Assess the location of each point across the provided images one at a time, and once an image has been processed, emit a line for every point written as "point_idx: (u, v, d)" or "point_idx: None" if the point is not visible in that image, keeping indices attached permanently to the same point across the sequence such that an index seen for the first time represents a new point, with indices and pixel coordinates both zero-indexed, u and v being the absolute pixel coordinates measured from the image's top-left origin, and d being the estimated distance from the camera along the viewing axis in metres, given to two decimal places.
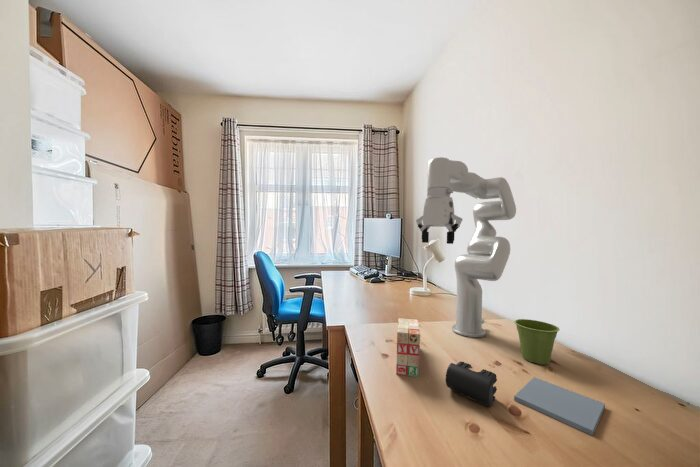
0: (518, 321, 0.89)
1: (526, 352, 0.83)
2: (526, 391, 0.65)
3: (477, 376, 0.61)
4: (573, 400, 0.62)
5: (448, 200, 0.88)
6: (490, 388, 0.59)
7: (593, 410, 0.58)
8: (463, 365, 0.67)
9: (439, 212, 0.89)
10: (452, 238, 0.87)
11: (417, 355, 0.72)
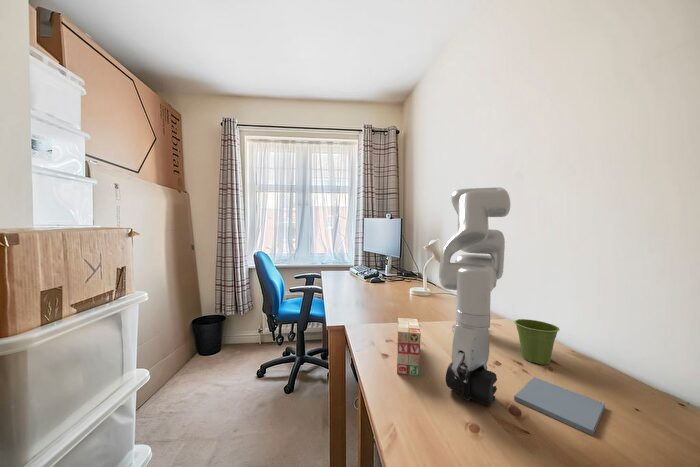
0: (518, 321, 0.89)
1: (526, 352, 0.83)
2: (526, 391, 0.65)
3: (477, 376, 0.61)
4: (573, 400, 0.62)
5: None
6: (490, 388, 0.59)
7: (593, 410, 0.58)
8: (463, 365, 0.67)
9: (485, 346, 0.64)
10: None
11: (418, 354, 0.73)
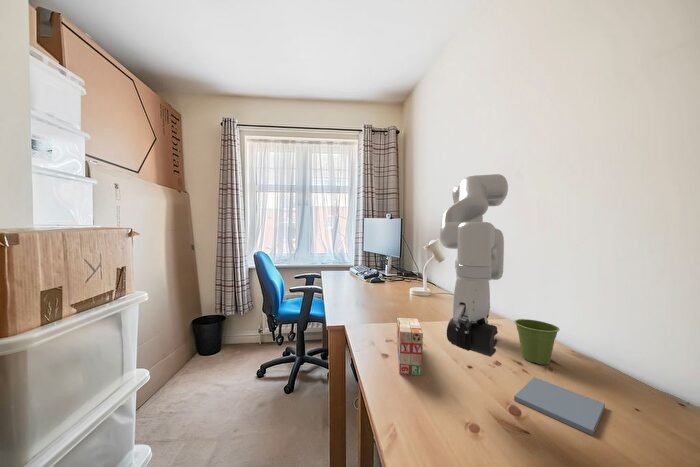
0: (518, 321, 0.89)
1: (526, 352, 0.83)
2: (526, 391, 0.65)
3: (478, 328, 0.62)
4: (573, 400, 0.62)
5: None
6: (491, 337, 0.59)
7: (593, 410, 0.58)
8: None
9: (485, 299, 0.64)
10: None
11: (420, 354, 0.73)
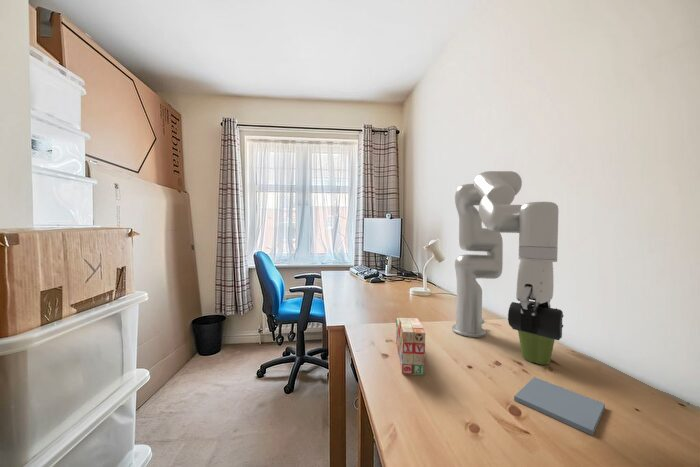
0: None
1: (526, 352, 0.83)
2: (526, 391, 0.65)
3: (544, 310, 0.60)
4: (573, 400, 0.62)
5: None
6: (560, 320, 0.58)
7: (593, 410, 0.58)
8: None
9: (550, 282, 0.62)
10: None
11: (422, 353, 0.73)
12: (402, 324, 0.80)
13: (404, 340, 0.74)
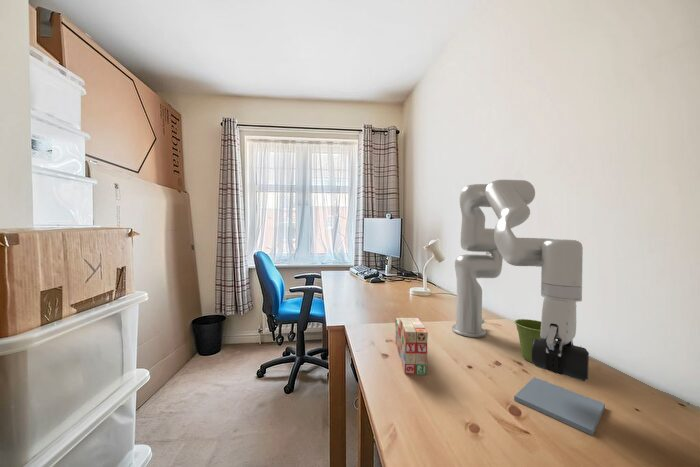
0: (518, 321, 0.89)
1: (526, 352, 0.83)
2: (526, 391, 0.65)
3: (570, 350, 0.59)
4: (573, 400, 0.62)
5: None
6: (587, 361, 0.57)
7: (593, 410, 0.58)
8: None
9: None
10: None
11: (425, 353, 0.74)
12: (404, 324, 0.80)
13: (407, 340, 0.74)
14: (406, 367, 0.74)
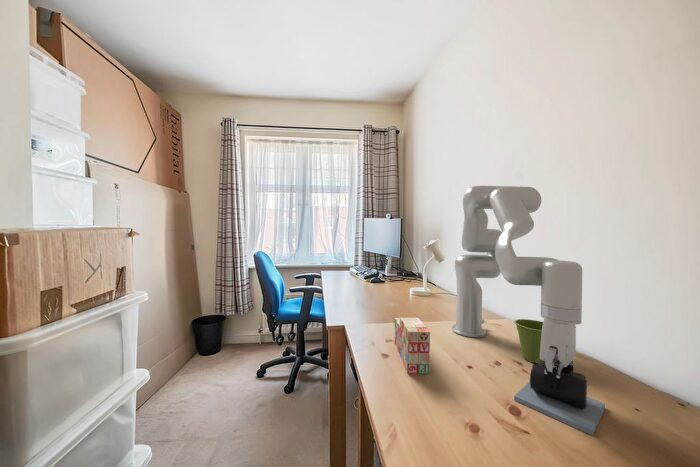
0: (518, 321, 0.89)
1: (526, 352, 0.83)
2: (526, 391, 0.65)
3: (568, 378, 0.59)
4: None
5: None
6: (585, 390, 0.57)
7: (593, 410, 0.58)
8: None
9: None
10: None
11: (427, 352, 0.74)
12: (405, 324, 0.80)
13: (409, 340, 0.74)
14: (409, 367, 0.74)
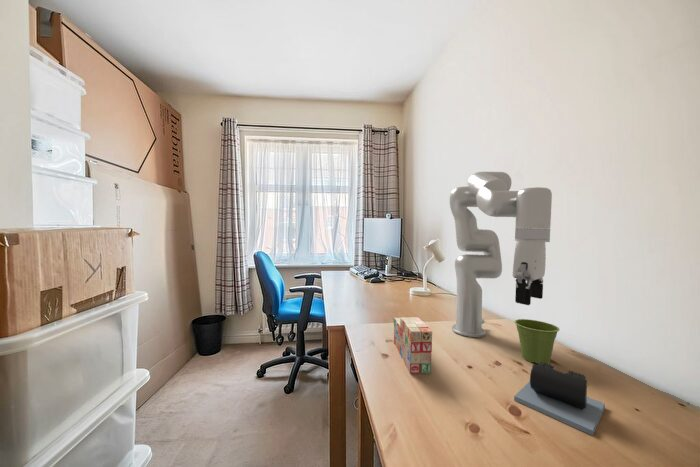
0: (518, 321, 0.89)
1: (526, 352, 0.83)
2: (526, 391, 0.65)
3: (568, 378, 0.59)
4: None
5: None
6: (585, 390, 0.57)
7: (593, 410, 0.58)
8: (546, 366, 0.65)
9: (543, 260, 0.69)
10: None
11: (429, 352, 0.75)
12: (407, 324, 0.80)
13: (412, 340, 0.74)
14: (411, 367, 0.74)
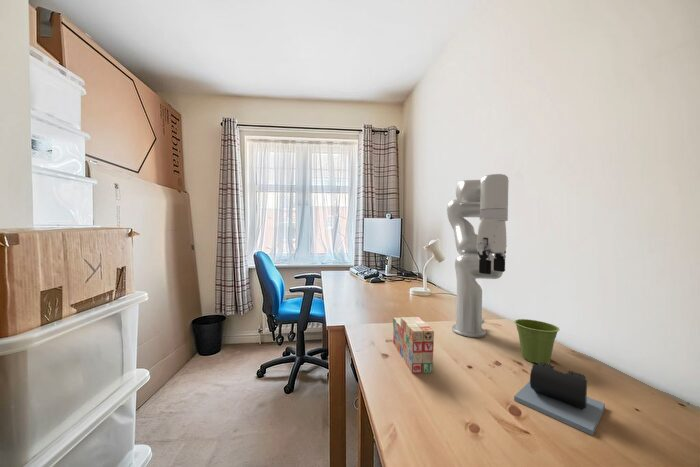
0: (518, 321, 0.89)
1: (526, 352, 0.83)
2: (526, 391, 0.65)
3: (568, 378, 0.59)
4: None
5: None
6: (585, 390, 0.57)
7: (593, 410, 0.58)
8: (546, 366, 0.65)
9: (503, 237, 0.79)
10: None
11: (431, 351, 0.75)
12: (408, 324, 0.80)
13: (414, 340, 0.74)
14: (413, 366, 0.75)
